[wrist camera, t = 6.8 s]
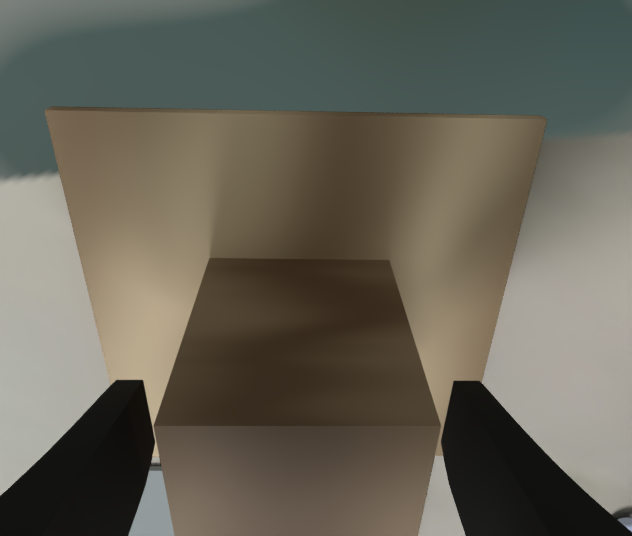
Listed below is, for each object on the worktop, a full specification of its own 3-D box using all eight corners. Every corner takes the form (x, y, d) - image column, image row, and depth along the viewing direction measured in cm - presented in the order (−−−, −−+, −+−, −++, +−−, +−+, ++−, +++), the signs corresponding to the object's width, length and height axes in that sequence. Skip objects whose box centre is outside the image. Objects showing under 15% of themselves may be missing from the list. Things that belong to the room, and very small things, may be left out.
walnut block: (389, 260, 14) (441, 425, 9) (374, 392, 16) (407, 583, 11) (209, 257, 14) (153, 425, 9) (221, 392, 16) (184, 585, 11)
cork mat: (540, 115, 12) (547, 119, 12) (459, 446, 18) (463, 455, 18) (51, 106, 12) (44, 110, 12) (131, 447, 18) (128, 456, 18)
